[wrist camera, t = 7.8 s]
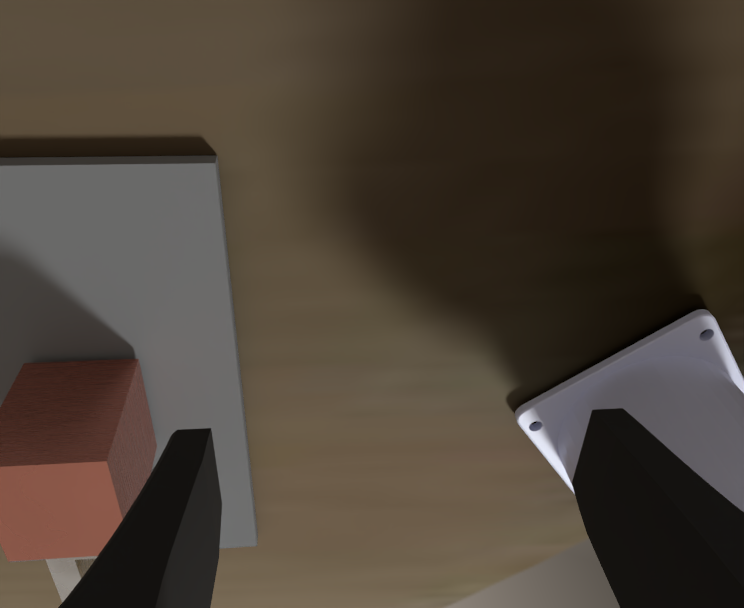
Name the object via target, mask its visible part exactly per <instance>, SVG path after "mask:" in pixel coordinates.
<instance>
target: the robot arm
mask: <svg viewBox="0 0 744 608" xmlns="http://www.w3.org/2000/svg"><path fill="white" fill-rule="evenodd" d="M704 330H707V331H706V332H705V333H703V334H701V333H702V332H703V331H704ZM515 417H516V420H517V422H518V425H519V426H520V427H521V428H522V429H523V431H524V432H525V433H526V434H527V436H528V437H529V438H530V439H531V441H532V442H533V443H534V444H535V446H536V447H537V448H538V449H539V451H540V452H541V453H542V454H543V456H544V457H545V458H546V459H547V461H548V462H549V463H550V464H551V466H552V467H553V468H554V469H555V471H556V472H557V473H558V474H559V476H560V477H561V478H562V479H563V481H564V482H565V483H566V484H567V486H568V487H569V488H570V489H571V490H572V492H573V493H574V494H575V496H576V499H577V503H578V506H579V510H580V513H581V516H582V519H583V522H584V525H585V528H586V531H587V534H588V536H589V539H590V541H591V543H592V546H593V548H594V550H595V552H596V555H597V557H598V559H599V561H600V564H601V566H602V568H603V570H604V573H605V575H606V577H607V579H608V581H609V584H610V586H611V588H612V590H613V592H614V595H615V597H616V599H617V601H618V603H619V605H620V608H744V378H743V376H742V374H741V372H740V370H739V368H738V366H737V364H736V362H735V359H734V357H733V355H732V353H731V351H730V349H729V347H728V345H727V343H726V340H725V338H724V336H723V334H722V332H721V330H720V328H719V326H718V324H717V322H716V319H715V318H714V317H713V316H712V314H711V313H710V312H709V311H708V310H705V309H699V310H696V311H693V312H691V313H690V314H688V315H686V316H684V317H682V318H680V319H679V320H677V321H675V322H673V323H671V324H669V325H668V326H666V327H664V328H662V329H660V330H658V331H657V332H655V333H653V334H651V335H649V336H647V337H646V338H644V339H642V340H640V341H638V342H636V343H635V344H633V345H631V346H629V347H627V348H625V349H624V350H622V351H620V352H618V353H616V354H614V355H613V356H611V357H609V358H607V359H605V360H603V361H602V362H600V363H598V364H596V365H594V366H592V367H591V368H589V369H587V370H585V371H583V372H581V373H580V374H578V375H576V376H574V377H572V378H570V379H569V380H567V381H565V382H563V383H561V384H560V385H558V386H556V387H554V388H552V389H550V390H549V391H547V392H545V393H543V394H541V395H539V396H538V397H536V398H534V399H532V400H530V401H528V402H527V403H525V404H523V405H521V406H520V407H519V408H517V410H516V411H515ZM535 421H538V422H536V423H534V424H531V423H533V422H535ZM221 515H222V499H221V492H220V485H219V478H218V472H217V465H216V458H215V451H214V444H213V437H212V431H211V428H202V429H182V430H176V431H175V432H174V433H173V434H172V435H171V437H170V439H169V441H168V443H167V445H166V447H165V449H164V451H163V453H162V455H161V457H160V458H159V460H158V462H157V464H156V466H155V467H154V469H153V471H152V473H151V475H150V476H149V478H148V480H147V481H146V483H145V485H144V486H143V488H142V490H141V492H140V493H139V495H138V496H137V498H136V500H135V501H134V503H133V504H132V506H131V507H130V509H129V511H128V512H127V514H126V515H125V517H124V518H123V520H122V522H121V523H120V525H119V526H118V528H117V529H116V531H115V532H114V534H113V535H112V537H111V538H110V539H109V541H108V542H107V544H106V545H105V546H104V548H103V549H102V551H101V552H100V553H99V555H98V556H97V558H96V559H95V561H94V562H93V563H92V565H91V566H90V568H89V569H88V570H87V572H86V573H85V574H84V576H83V577H82V578H81V580H80V581H79V582H78V584H77V585H76V586H75V587H74V589H73V590H72V591H71V593H70V594H69V595H68V596H67V598H66V599H65V600H64V601H63V603H62V604H61V605H60V606H59V608H210V605H211V599H212V594H213V588H214V582H215V576H216V571H217V565H218V559H219V546H220V532H221Z"/></svg>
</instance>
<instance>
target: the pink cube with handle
mask: <svg viewBox="0 0 744 608" xmlns="http://www.w3.org/2000/svg"><path fill="white" fill-rule="evenodd" d="M156 449H157V443H156V438H155V433H154V429H153V424H152V419H151V415H150V410H149V405H148V400H147V396H146V391H145V386H144V382H143V377H142V372H141V367H140V363H139V359H120V360H94V361H68V362H42V363H24V364H23V366H22V368H21V370H20V372H19V373H18V375H17V377H16V379H15V381H14V383H13V385H12V386H11V388H10V390H9V392H8V394H7V396H6V398H5V399H4V401H3V403H2V405H1V407H0V543H1V546H2V548H3V550H4V553H5V555H6V557H7V559H8V562H11V561H26V560H41V559H46V562H47V564H48V567H49V570H50V572H51V575H52V577H53V580H54V582H55V585H56V587H57V590H58V592H59V595H60V598H61V600H62V603H63V601H64V600H65V599H66V598H67V596H68V595H69V594H70V593H71V591H72V590H73V589H74V587H75V586H76V585H77V584H78V582H79V581H80V580H81V578H82V577H83V576H84V574H85V573H86V572H87V570H88V569H89V568H90V566H91V565H92V563H93V562H94V561H95V559H96V558H97V556H98V555H99V553H100V552H101V551H102V549H103V548H104V546H105V545H106V544H107V542H108V541H109V539H110V538H111V537H112V535H113V534H114V532H115V531H116V529H117V528H118V526H119V525H120V523H121V522H122V520H123V518H124V517H125V515H126V514H127V512H128V511H129V509H130V507H131V506H132V504H133V503H134V501H135V500H136V498H137V496H138V495H139V493H140V492H141V490H142V488H143V486H144V485H145V483H146V481H147V480H148V478H149V476H150V475H151V471H152V466H153V462H154V458H155V453H156Z"/></svg>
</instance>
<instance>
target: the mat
mask: <svg viewBox="0 0 744 608" xmlns="http://www.w3.org/2000/svg"><path fill="white" fill-rule="evenodd" d="M120 359H139V363H140V367H141V372H142V377H143V382H144V386H145V391H146V396H147V400H148V405H149V410H150V415H151V419H152V424H153V429H154V433H155V438H156V443H157V449H156V453H155V458H154V462H153V466H152V471H153V469H154V467H155V466H156V464H157V462H158V460H159V458H160V457H161V455H162V453H163V451H164V449H165V447H166V445H167V443H168V441H169V439H170V437H171V435H172V434H173V433H174V432H175V431H176V430H182V429H202V428H211V431H212V437H213V444H214V451H215V458H216V465H217V472H218V478H219V485H220V492H221V499H222V515H221V532H220V546H219V548H234V547H250V546H257V538H258V532H257V523H256V514H255V504H254V495H253V486H252V476H251V467H250V457H249V448H248V439H247V429H246V420H245V411H244V401H243V392H242V383H241V373H240V364H239V354H238V345H237V336H236V326H235V317H234V308H233V298H232V289H231V280H230V270H229V261H228V251H227V242H226V233H225V223H224V214H223V205H222V195H221V186H220V177H219V167H218V158H217V155H212V156H117V157H22V158H0V407H1V405H2V403H3V401H4V399H5V398H6V396H7V394H8V392H9V390H10V388H11V386H12V385H13V383H14V381H15V379H16V377H17V375H18V373H19V372H20V370H21V368H22V366H23V364H24V363H42V362H68V361H94V360H120ZM152 471H151V473H152ZM41 560H46V559H41ZM26 561H35V560H26ZM11 562H19V561H11Z"/></svg>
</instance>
